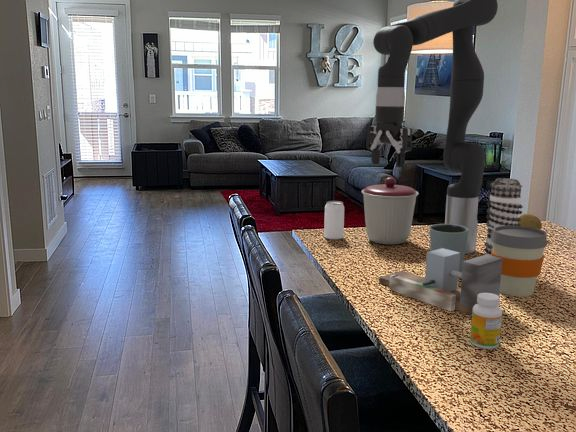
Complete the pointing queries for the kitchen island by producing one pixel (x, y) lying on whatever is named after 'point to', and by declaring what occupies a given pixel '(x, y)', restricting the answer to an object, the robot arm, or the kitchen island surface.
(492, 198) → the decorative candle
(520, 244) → the reusable coffee cup
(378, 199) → the canister
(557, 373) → the kitchen island surface
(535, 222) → the potato
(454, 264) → the block
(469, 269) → the track
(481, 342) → the supplement bottle
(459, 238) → the teal gray cup
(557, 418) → the kitchen island surface
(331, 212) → the can
